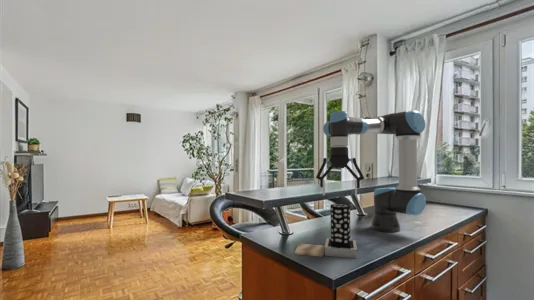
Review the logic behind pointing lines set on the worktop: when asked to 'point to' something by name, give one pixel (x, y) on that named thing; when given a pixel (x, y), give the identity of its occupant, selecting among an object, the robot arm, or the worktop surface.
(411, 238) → the worktop surface
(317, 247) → the coaster
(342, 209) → the white-spotted black cylinder
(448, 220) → the worktop surface
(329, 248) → the holder
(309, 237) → the worktop surface
